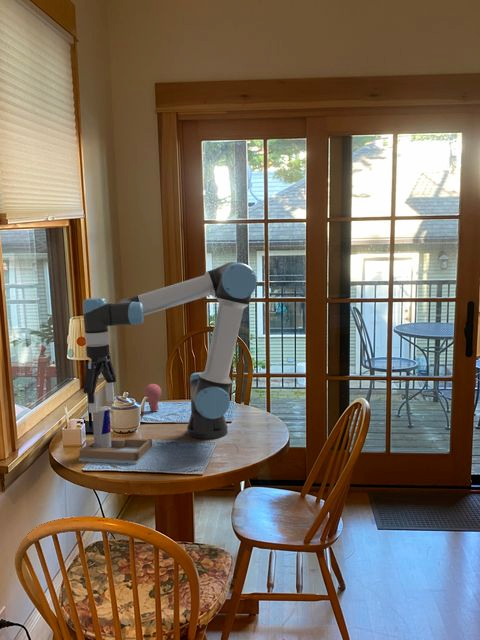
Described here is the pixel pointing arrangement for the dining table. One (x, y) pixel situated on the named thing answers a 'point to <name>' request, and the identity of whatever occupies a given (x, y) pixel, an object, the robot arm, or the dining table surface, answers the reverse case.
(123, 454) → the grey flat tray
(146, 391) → the light bulb
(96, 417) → the beverage can
